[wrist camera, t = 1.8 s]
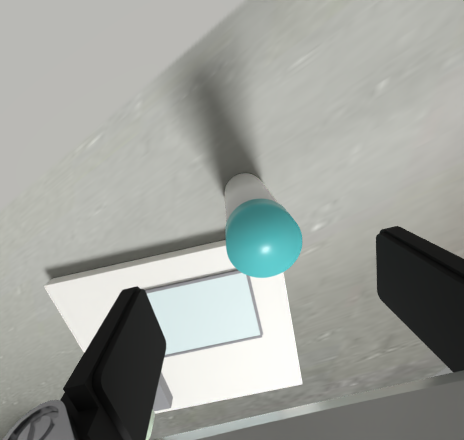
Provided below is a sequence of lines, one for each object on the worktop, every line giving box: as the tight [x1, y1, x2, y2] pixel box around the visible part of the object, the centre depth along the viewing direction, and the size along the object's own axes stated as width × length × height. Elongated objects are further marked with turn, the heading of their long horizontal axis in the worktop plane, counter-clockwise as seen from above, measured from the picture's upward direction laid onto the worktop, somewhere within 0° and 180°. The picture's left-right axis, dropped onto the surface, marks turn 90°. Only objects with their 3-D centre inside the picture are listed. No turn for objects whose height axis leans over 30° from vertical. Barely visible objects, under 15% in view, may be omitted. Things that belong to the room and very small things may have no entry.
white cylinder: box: [224, 173, 302, 278], centre depth 17 cm, size 4×4×10 cm
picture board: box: [44, 240, 302, 414], centre depth 26 cm, size 22×20×2 cm
